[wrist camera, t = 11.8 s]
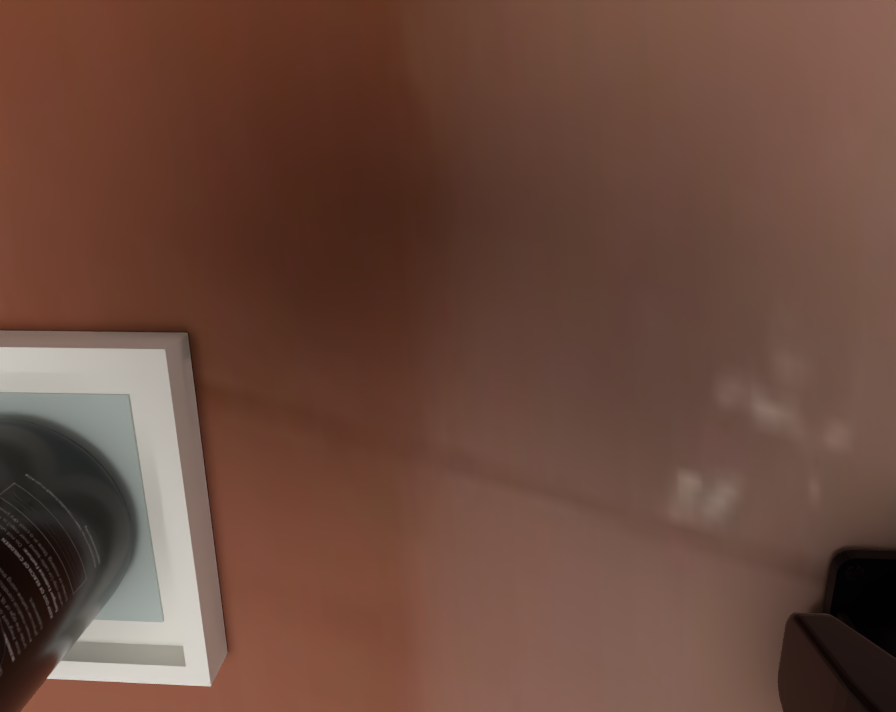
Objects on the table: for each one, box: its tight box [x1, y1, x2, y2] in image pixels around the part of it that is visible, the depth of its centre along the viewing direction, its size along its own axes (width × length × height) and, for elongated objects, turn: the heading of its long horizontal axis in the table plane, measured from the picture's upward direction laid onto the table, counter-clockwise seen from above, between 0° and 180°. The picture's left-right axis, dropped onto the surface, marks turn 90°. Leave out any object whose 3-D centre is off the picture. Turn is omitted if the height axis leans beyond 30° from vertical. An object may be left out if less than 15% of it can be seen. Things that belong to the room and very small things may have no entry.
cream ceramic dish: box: [0, 330, 228, 686], centre depth 23 cm, size 11×11×2 cm
